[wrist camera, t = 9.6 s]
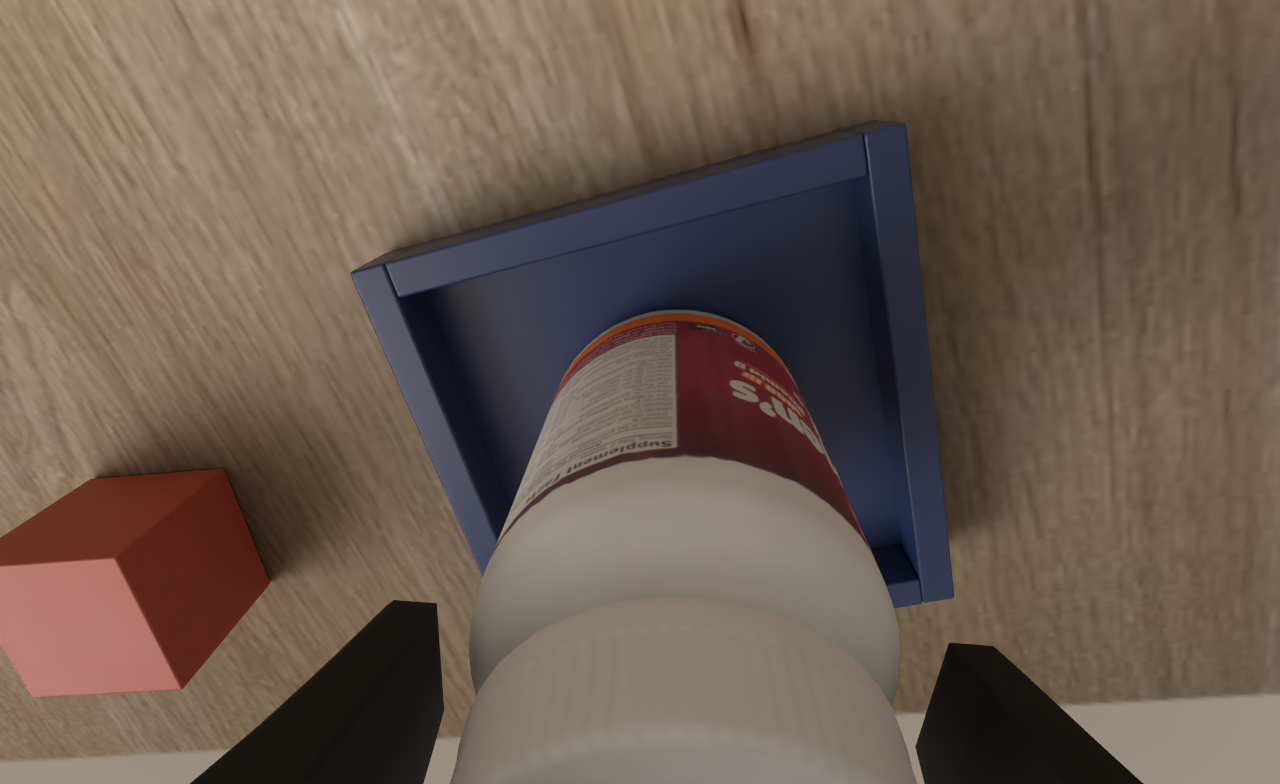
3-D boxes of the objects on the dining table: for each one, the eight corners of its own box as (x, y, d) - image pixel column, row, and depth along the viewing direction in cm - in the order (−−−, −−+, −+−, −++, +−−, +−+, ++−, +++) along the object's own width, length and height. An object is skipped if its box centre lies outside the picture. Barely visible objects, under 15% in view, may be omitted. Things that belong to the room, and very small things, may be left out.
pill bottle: (844, 443, 17) (1126, 981, 7) (650, 559, 19) (629, 1136, 8) (706, 248, 15) (791, 566, 5) (503, 395, 17) (238, 870, 6)
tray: (537, 622, 20) (524, 674, 18) (384, 253, 16) (348, 272, 14) (927, 550, 19) (955, 598, 17) (876, 119, 14) (906, 121, 13)
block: (271, 583, 20) (182, 690, 16) (146, 591, 20) (32, 698, 17) (224, 467, 19) (115, 557, 15) (90, 478, 19) (-49, 568, 15)
